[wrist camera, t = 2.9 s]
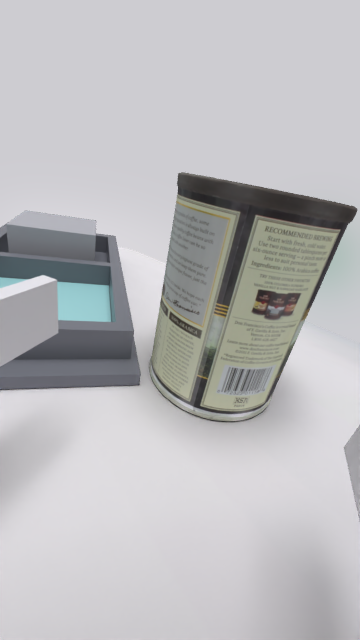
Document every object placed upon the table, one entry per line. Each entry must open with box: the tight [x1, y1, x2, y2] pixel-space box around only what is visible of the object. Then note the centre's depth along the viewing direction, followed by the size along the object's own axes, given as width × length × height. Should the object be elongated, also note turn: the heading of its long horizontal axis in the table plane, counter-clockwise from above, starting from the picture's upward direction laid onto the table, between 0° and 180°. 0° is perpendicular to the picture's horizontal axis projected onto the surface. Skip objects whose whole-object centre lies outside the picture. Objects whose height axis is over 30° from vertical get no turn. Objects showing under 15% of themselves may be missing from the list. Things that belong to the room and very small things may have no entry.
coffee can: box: [149, 173, 357, 421], centre depth 19 cm, size 10×10×14 cm
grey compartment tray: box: [0, 211, 141, 389], centre depth 29 cm, size 16×30×6 cm, turn 15°
